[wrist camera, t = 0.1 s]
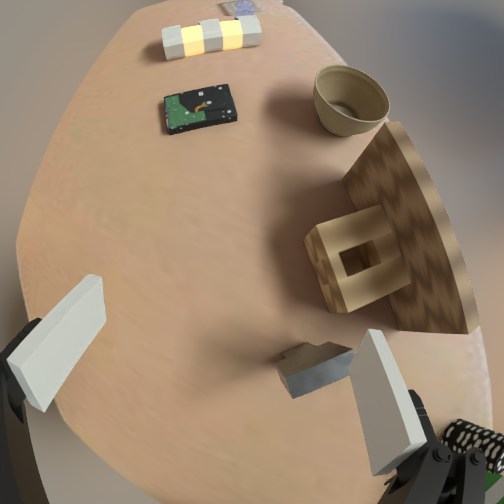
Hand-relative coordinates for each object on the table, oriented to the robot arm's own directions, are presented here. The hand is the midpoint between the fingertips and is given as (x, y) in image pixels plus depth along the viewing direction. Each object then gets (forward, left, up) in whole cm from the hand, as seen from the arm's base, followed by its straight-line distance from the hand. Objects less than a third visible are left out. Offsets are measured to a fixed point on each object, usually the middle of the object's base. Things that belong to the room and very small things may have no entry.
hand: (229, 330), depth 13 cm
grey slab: (-10, -8, -36) cm, 38 cm away
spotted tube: (-48, -38, -36) cm, 71 cm away
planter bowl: (+32, -35, -36) cm, 59 cm away
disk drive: (+43, -6, -36) cm, 56 cm away
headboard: (+2, -23, -36) cm, 43 cm away
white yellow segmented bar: (+68, -15, -36) cm, 78 cm away
